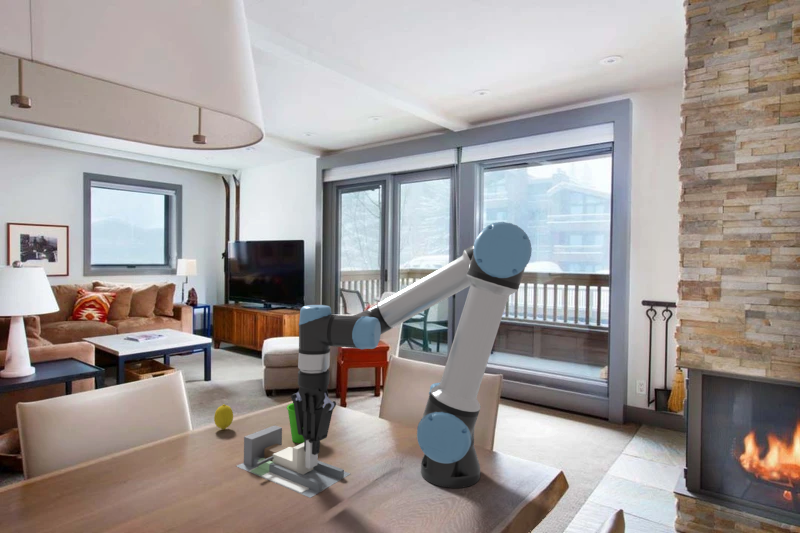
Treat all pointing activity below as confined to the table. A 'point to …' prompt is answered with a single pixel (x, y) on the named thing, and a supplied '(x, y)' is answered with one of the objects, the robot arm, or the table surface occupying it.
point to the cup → (294, 425)
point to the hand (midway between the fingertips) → (311, 465)
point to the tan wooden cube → (272, 450)
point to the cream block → (290, 459)
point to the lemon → (223, 417)
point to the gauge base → (285, 477)
